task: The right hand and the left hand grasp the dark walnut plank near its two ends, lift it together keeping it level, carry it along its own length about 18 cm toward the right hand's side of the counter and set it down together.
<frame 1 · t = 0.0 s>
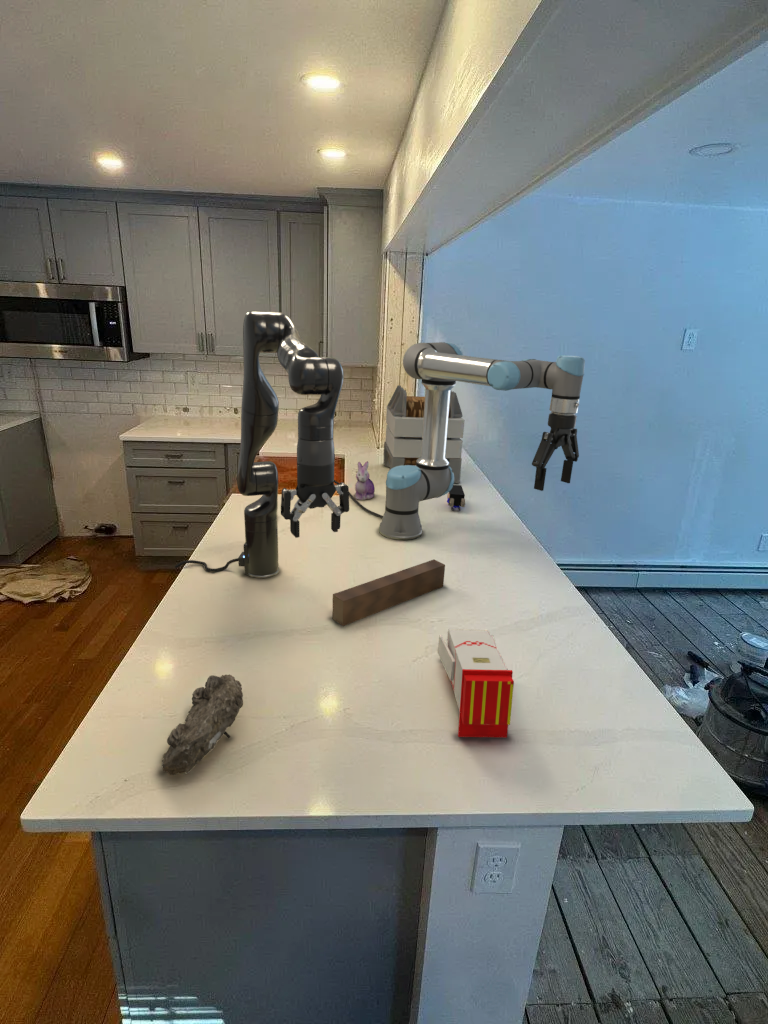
left hand: (315, 533, 120), 29 cm above the counter, fingers open, 8 cm apart
right hand: (552, 485, 166), 28 cm above the counter, fingers open, 13 cm apart
figurine character: (454, 506, 230), on the counter
plank: (391, 601, 154), on the counter
toy: (469, 691, 119), on the counter
figurine: (364, 497, 237), on the counter
fossil: (209, 735, 103), on the counter
transformer: (419, 473, 275), on the counter
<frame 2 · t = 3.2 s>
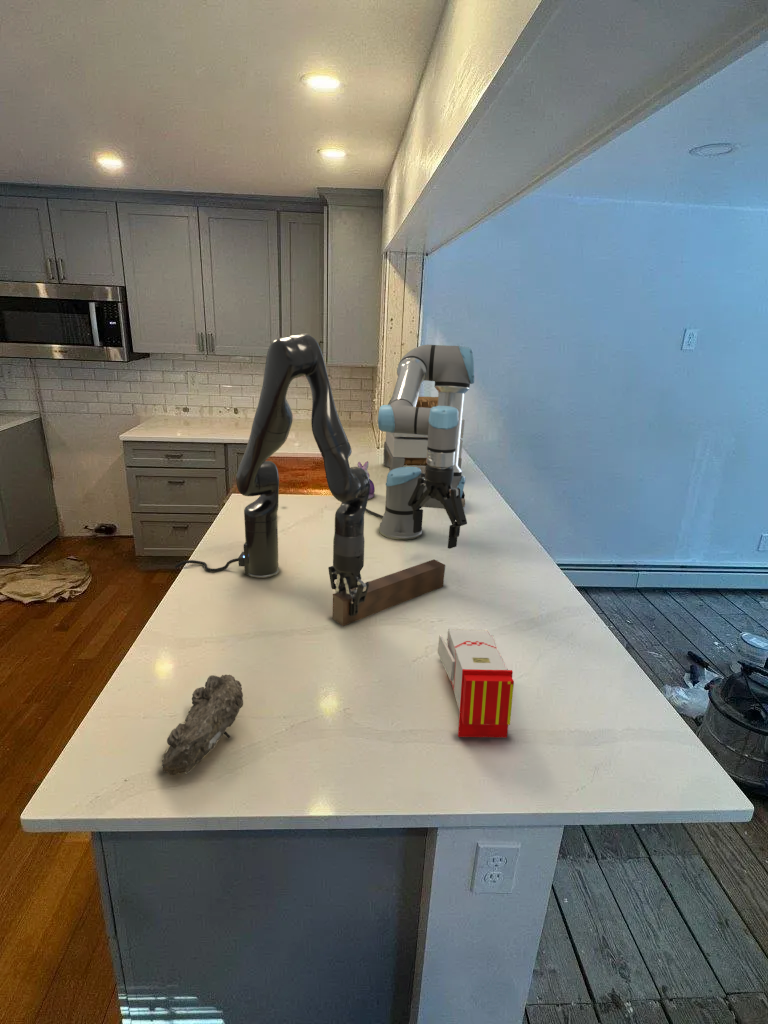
left hand: (347, 610, 143), 2 cm above the counter, fingers closed on plank, 4 cm apart
right hand: (434, 539, 158), 15 cm above the counter, fingers open, 13 cm apart
plank: (391, 601, 154), on the counter, touching left hand
everything else where it was.
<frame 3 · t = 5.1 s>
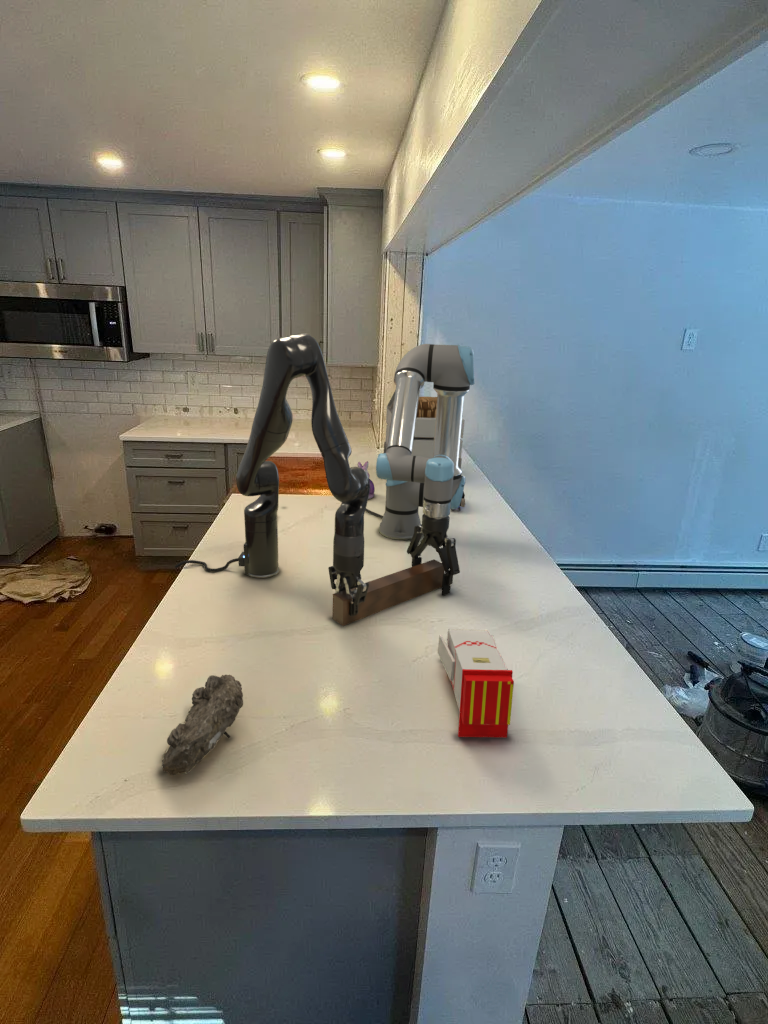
left hand: (347, 610, 143), 2 cm above the counter, fingers closed on plank, 4 cm apart
right hand: (430, 586, 163), 0 cm above the counter, fingers open, 11 cm apart
plank: (391, 601, 154), on the counter, touching left hand
everything else where it was.
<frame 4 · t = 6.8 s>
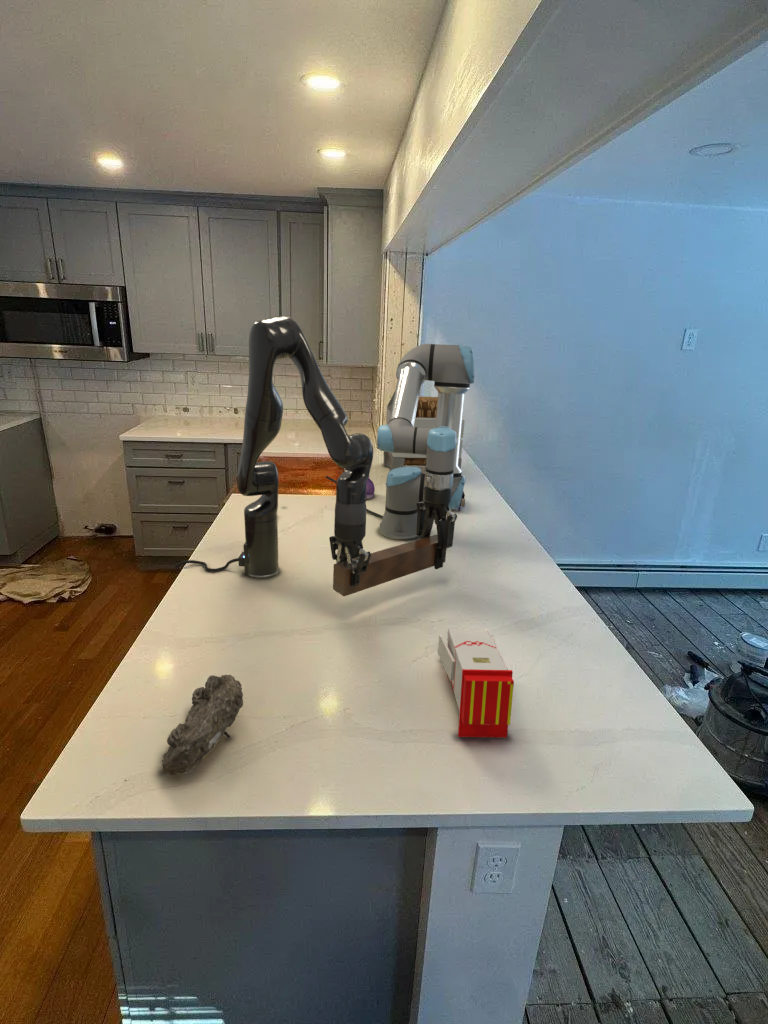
left hand: (348, 581, 141), 10 cm above the counter, fingers closed on plank, 4 cm apart
right hand: (431, 564, 161), 7 cm above the counter, fingers closed on plank, 4 cm apart
plank: (392, 574, 151), point 8 cm above the counter, touching right hand, left hand
everything else where it was.
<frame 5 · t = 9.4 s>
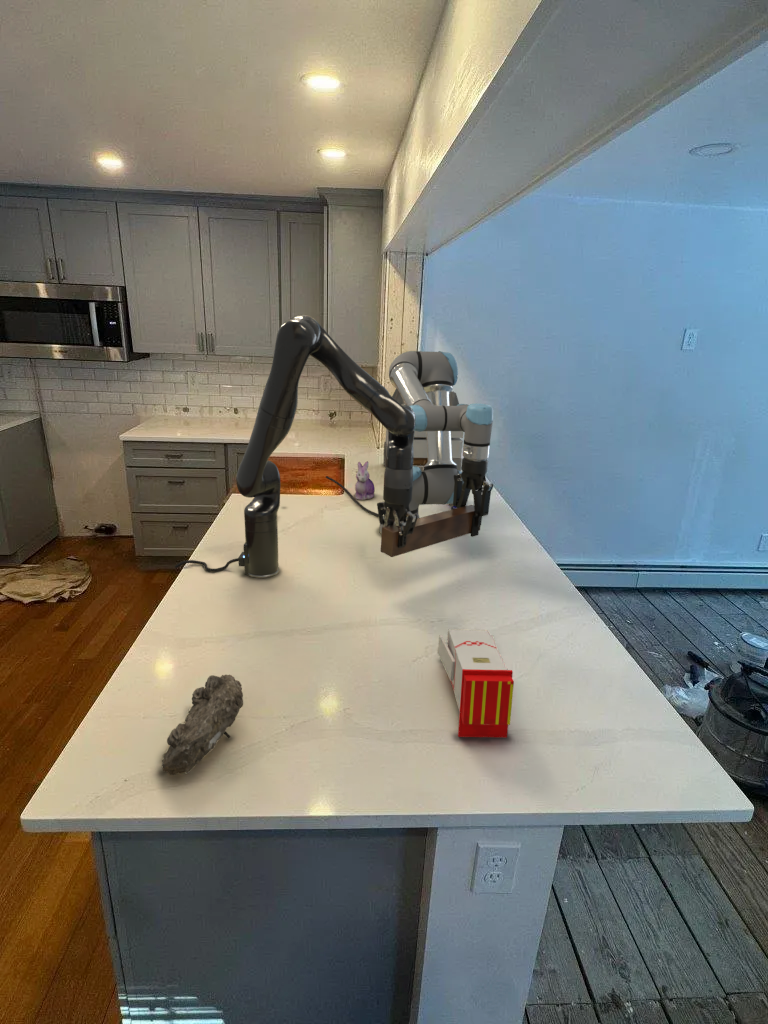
left hand: (395, 543, 152), 15 cm above the counter, fingers closed on plank, 4 cm apart
right hand: (467, 532, 172), 12 cm above the counter, fingers closed on plank, 4 cm apart
plank: (433, 540, 163), point 13 cm above the counter, touching right hand, left hand
everything else where it was.
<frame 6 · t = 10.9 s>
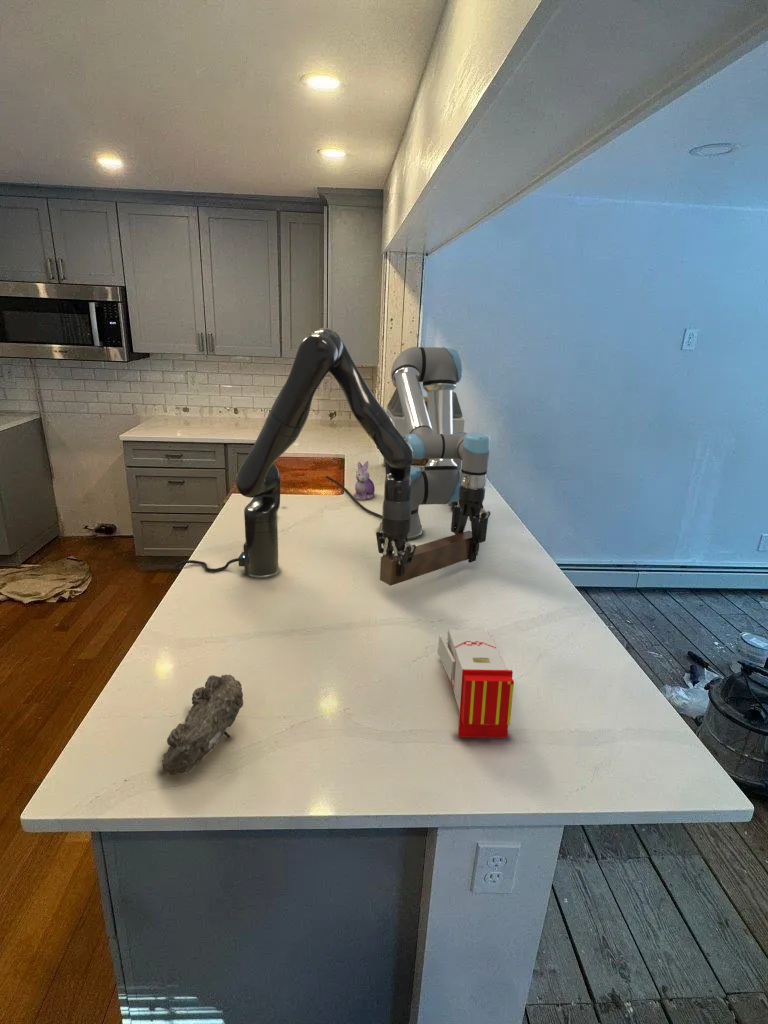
left hand: (393, 572, 155), 7 cm above the counter, fingers closed on plank, 4 cm apart
right hand: (465, 558, 175), 3 cm above the counter, fingers closed on plank, 4 cm apart
plank: (431, 567, 165), point 4 cm above the counter, touching right hand, left hand
everything else where it was.
when the left hand's fingers open (3 cm above the counter, at t = 12.0 s): plank stays where it is, on the counter.
when the right hand's fingers open (0 cm above the counter, at t = 12.2 s): plank stays where it is, on the counter.
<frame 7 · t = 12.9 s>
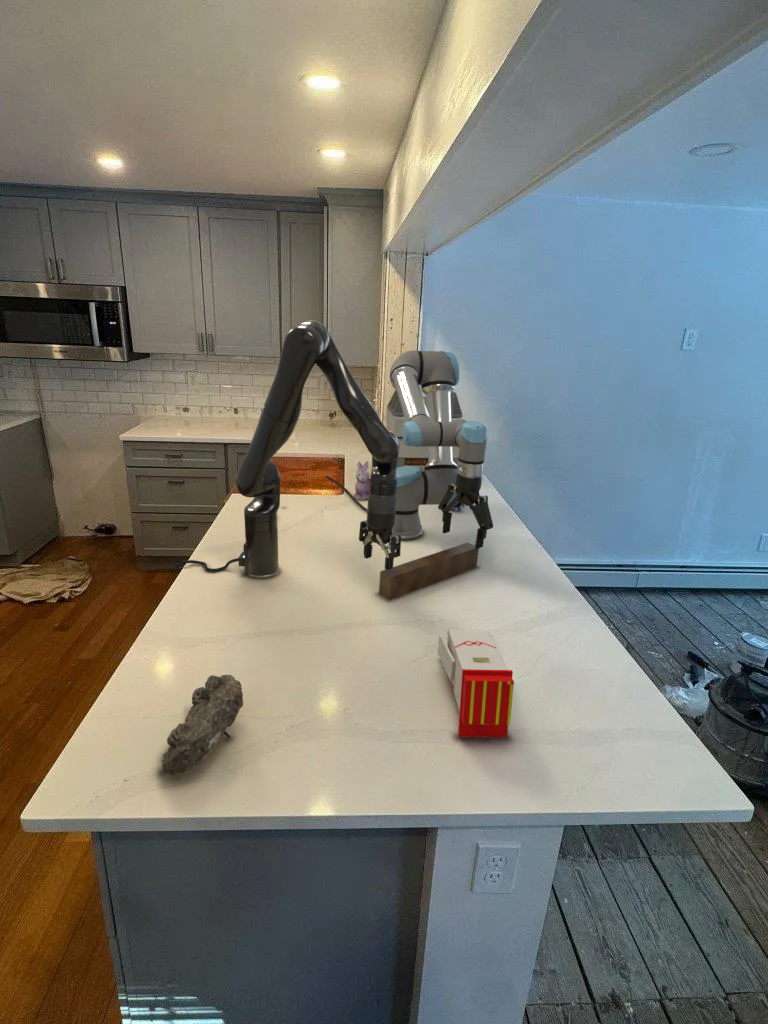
left hand: (377, 563, 155), 9 cm above the counter, fingers open, 8 cm apart
right hand: (462, 539, 176), 8 cm above the counter, fingers open, 13 cm apart
plank: (430, 580, 167), on the counter
everything else where it was.
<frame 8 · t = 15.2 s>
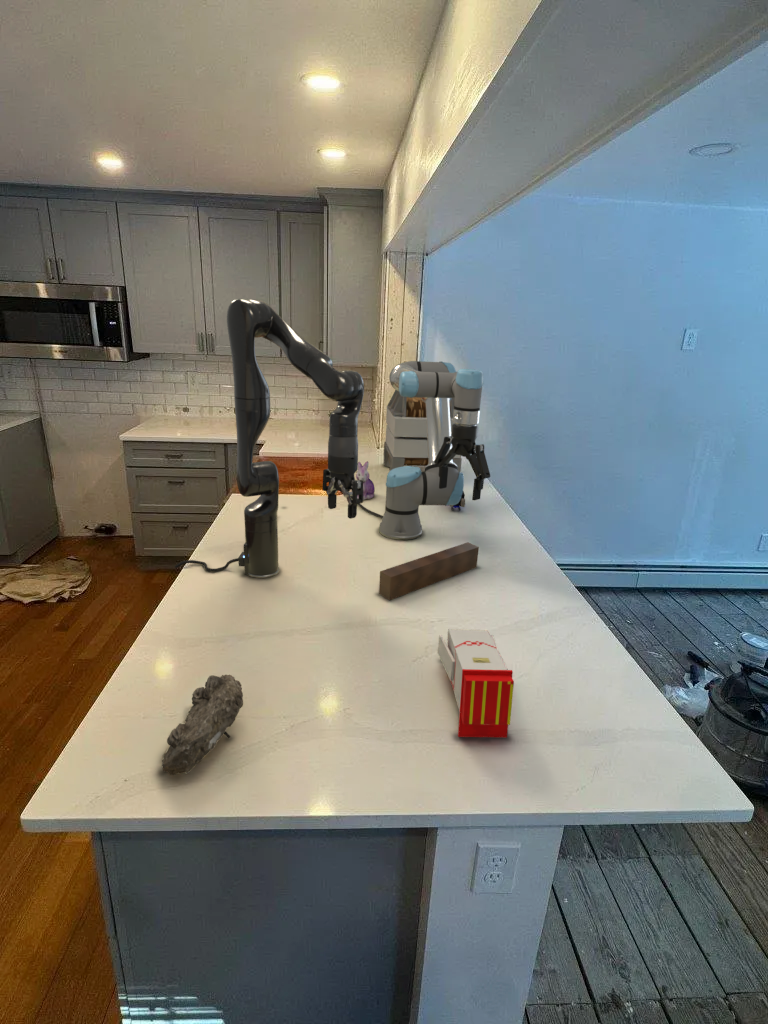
left hand: (341, 513, 148), 24 cm above the counter, fingers open, 8 cm apart
right hand: (458, 493, 172), 23 cm above the counter, fingers open, 13 cm apart
nothing on the counter moved.
at the end: plank inside the target area (0.1 cm from its centre), on the counter; both hands held the plank at the same time; plank never tilted more than 6° during the clip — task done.
